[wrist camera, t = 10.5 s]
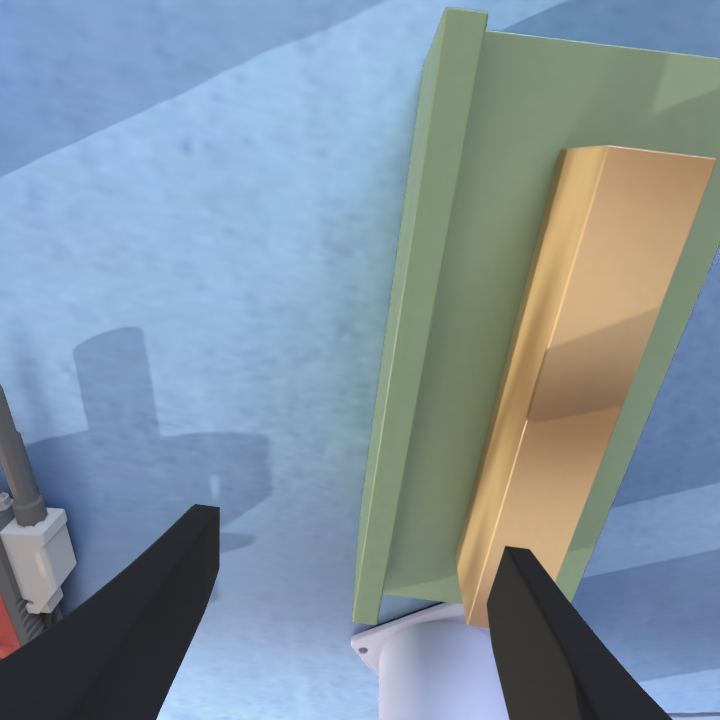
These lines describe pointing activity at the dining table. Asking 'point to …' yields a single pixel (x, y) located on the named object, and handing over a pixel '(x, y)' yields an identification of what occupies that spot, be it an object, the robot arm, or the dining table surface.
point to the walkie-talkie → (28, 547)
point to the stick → (575, 350)
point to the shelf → (506, 275)
